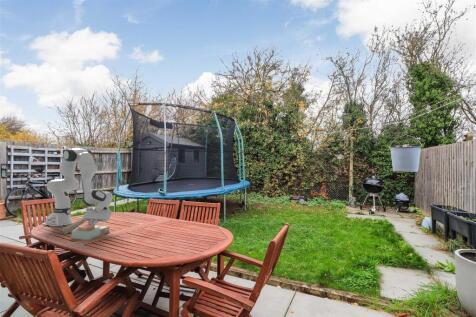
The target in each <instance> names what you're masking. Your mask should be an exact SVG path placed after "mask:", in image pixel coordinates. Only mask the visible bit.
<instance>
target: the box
mask: <svg viewBox="0 0 476 317" xmlns="http://www.w3.org/2000/svg"><path fill="white" fill-rule="evenodd" d="M99 237H101V235H100V228H97V229H94V230H91V231H78V228H75V229H74V230H72V231H71V240H83V241H90V240H93V239H95V238H99Z"/></svg>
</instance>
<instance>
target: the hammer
mask: <svg viewBox="0 0 476 317" xmlns="http://www.w3.org/2000/svg"><path fill="white" fill-rule="evenodd" d="M90 209H92V210H94V208H93V207H92V206H87V208H86V209H85V210H86V212H87V211H88V210H90ZM86 222H88V223H87V225H90V223H91V221H88V220H84V219H83V217H81V218H79V219H77V220H76V221H74V222H72V224H69V225H66V226H65V227H63V228H61V229H62V233H63V234H65V235H67V234H69V233H70V232H72V230H75V229H78V227H81V226H82V225H83V224H84V223H86ZM94 222H95V221H94ZM94 222H93V223H94Z"/></svg>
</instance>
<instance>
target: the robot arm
mask: <svg viewBox="0 0 476 317" xmlns="http://www.w3.org/2000/svg"><path fill="white" fill-rule="evenodd" d="M62 157H63V158H62V161H61V163H60V164H61V165H60V166H59V167H60V168H59V173H60V175H61V176H63V178H60V179H59V178H58V179H52V180H49V181H48V182H47V183H46V189H47V191H48V192H49V193H51V195H53V197H54V202H55V203H54V204H55V207H54V208H52V213H50V214H49V215H48V216H46V219H45V221H44V222H43V223H42V226H47V225H49V226H48V227H62V226H63V225H64V226H69V225H71V224H72V223H73V222H72V215H71V210H72V209H71V208H72V207H71V198H70V196H67V195H66V194H65V192H72V191H75V190H78V189H79V186H80V182H79V180H78V179H77V178H76V176H75V172H76V167H77V163H78V164H79V169H80V175H81V185H82V186H81V187H82V192H83V195H82V203H83V204H84V205H85V206H87V207H92V206H94V205H95V204H96V206H95V207H94V208H93V210H92V209H90V210H88V211H86V212H85V213H84V215H83V216H82V218H83V219H84V220H88V221H87V222H89V221H91V223H90V225H95V226H96V224H98V223H99V222H105V223H107V222H109V220H110V218H111V215H112V211H111V209H110V208H109V207H110V205H112V204H111V203H112V201H113V198H114V195H113V193H112V192H111V191H104V190H102V189H101V190H100V189H98V188H95V189H93V190H92V183H91V182H92V179H93V177H94V176H95V174H96V173H97V166H96V163H95V160H94V157H93V152H92V151H91V149H87V148H66V149H65V150H64V151H63V153H62ZM93 222H94V223H93Z"/></svg>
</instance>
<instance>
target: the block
mask: <svg viewBox="0 0 476 317" xmlns="http://www.w3.org/2000/svg"><path fill="white" fill-rule="evenodd" d="M95 226H96V224H95V225H88V224H85V225H80V226H78V227H77V229H78V231H91V230H94V229H95Z"/></svg>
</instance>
